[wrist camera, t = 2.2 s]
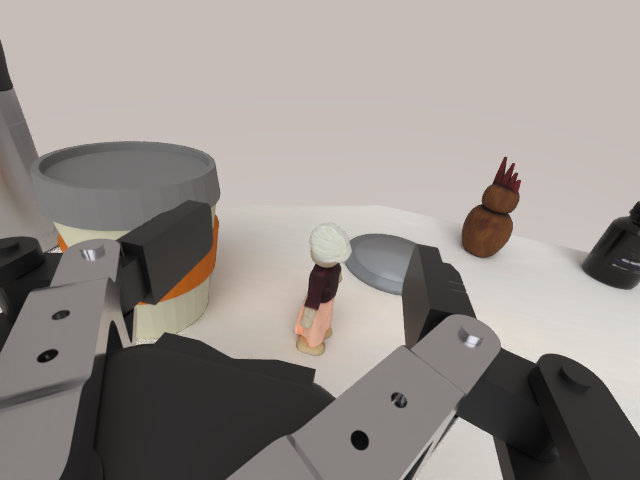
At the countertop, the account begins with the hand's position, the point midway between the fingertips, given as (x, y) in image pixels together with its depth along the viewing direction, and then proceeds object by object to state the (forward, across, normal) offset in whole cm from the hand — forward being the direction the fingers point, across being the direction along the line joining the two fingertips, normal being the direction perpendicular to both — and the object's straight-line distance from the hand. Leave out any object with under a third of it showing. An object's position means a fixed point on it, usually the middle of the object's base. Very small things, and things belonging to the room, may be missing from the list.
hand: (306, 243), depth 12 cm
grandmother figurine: (+10, 0, +17) cm, 20 cm away
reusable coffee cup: (+10, +16, +17) cm, 26 cm away
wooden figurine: (+36, -22, +17) cm, 46 cm away
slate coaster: (+28, -8, +17) cm, 33 cm away
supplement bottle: (+36, -42, +17) cm, 58 cm away
